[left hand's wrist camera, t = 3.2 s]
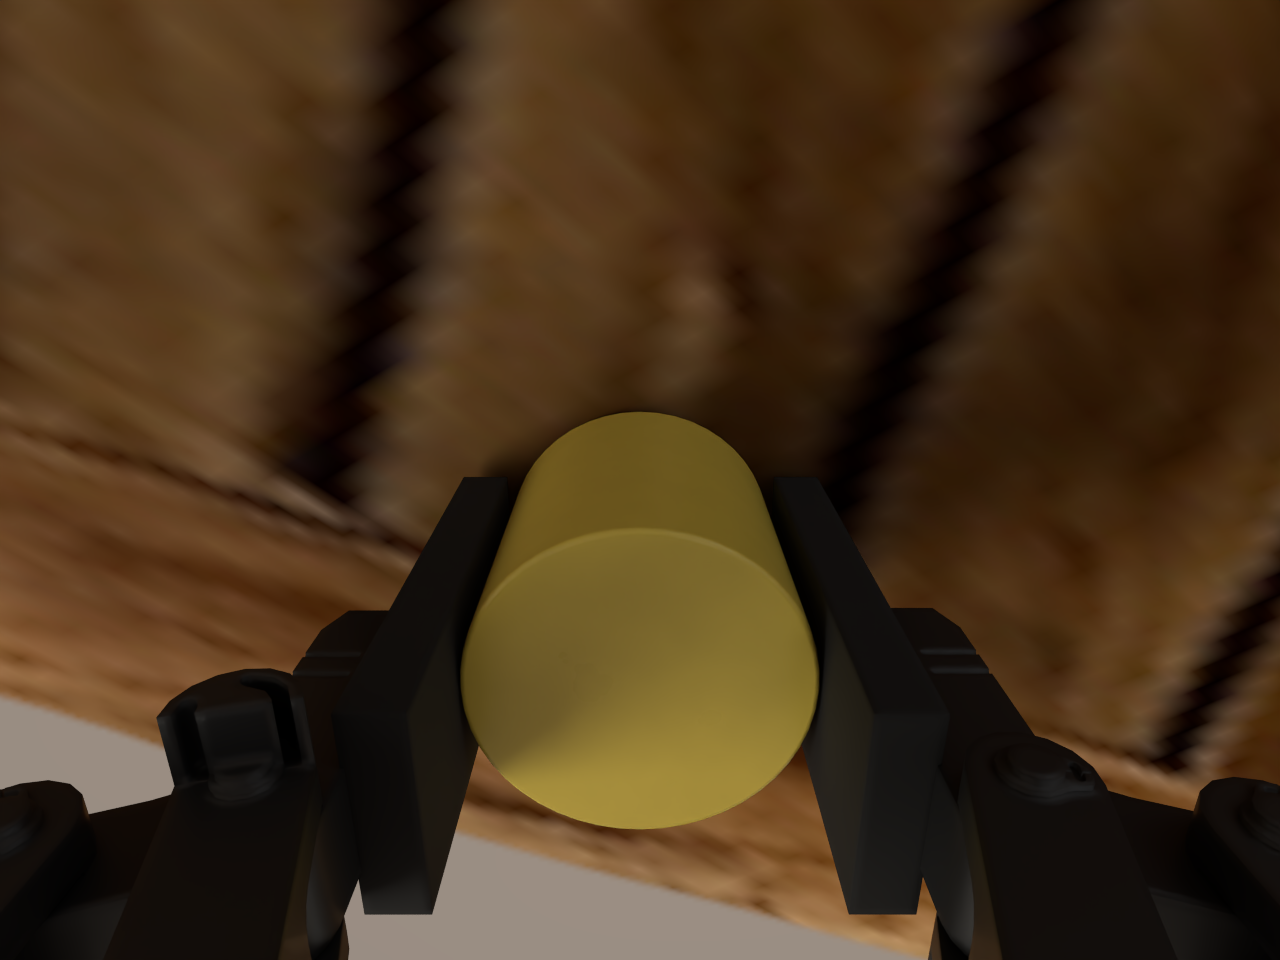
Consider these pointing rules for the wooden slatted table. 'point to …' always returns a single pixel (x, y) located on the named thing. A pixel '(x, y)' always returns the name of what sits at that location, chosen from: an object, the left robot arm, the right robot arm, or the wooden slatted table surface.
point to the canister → (639, 631)
